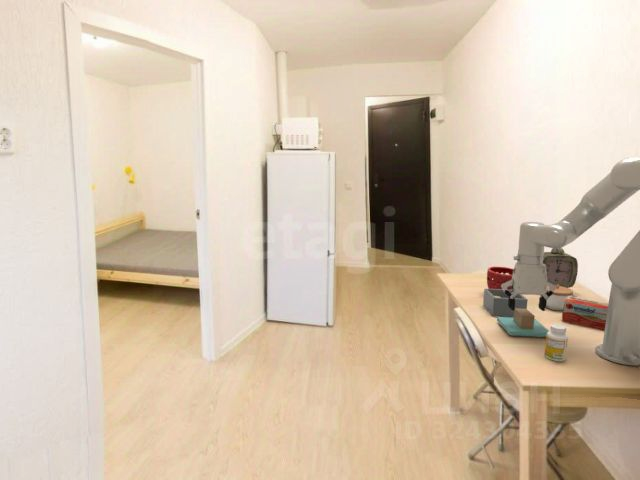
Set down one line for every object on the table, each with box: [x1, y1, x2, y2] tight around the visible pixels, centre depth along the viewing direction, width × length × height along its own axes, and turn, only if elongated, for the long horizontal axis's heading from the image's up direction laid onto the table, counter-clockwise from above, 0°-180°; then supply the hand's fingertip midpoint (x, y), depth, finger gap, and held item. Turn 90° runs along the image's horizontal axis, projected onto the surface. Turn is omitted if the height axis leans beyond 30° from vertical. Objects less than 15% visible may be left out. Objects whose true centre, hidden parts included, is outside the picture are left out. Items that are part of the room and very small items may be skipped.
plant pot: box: [486, 266, 514, 290], centre depth 179 cm, size 13×13×12 cm
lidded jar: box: [546, 285, 574, 311], centre depth 167 cm, size 11×11×9 cm
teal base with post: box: [496, 308, 550, 338], centre depth 144 cm, size 13×13×7 cm
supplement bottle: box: [544, 323, 569, 362], centre depth 124 cm, size 5×5×10 cm
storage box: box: [482, 288, 529, 318], centre depth 163 cm, size 12×12×7 cm
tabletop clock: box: [543, 247, 579, 289], centre depth 186 cm, size 14×9×25 cm, turn 80°
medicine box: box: [561, 296, 609, 332], centre depth 151 cm, size 15×8×8 cm, turn 52°
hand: (526, 309), depth 143 cm, fingers open, 9 cm apart
